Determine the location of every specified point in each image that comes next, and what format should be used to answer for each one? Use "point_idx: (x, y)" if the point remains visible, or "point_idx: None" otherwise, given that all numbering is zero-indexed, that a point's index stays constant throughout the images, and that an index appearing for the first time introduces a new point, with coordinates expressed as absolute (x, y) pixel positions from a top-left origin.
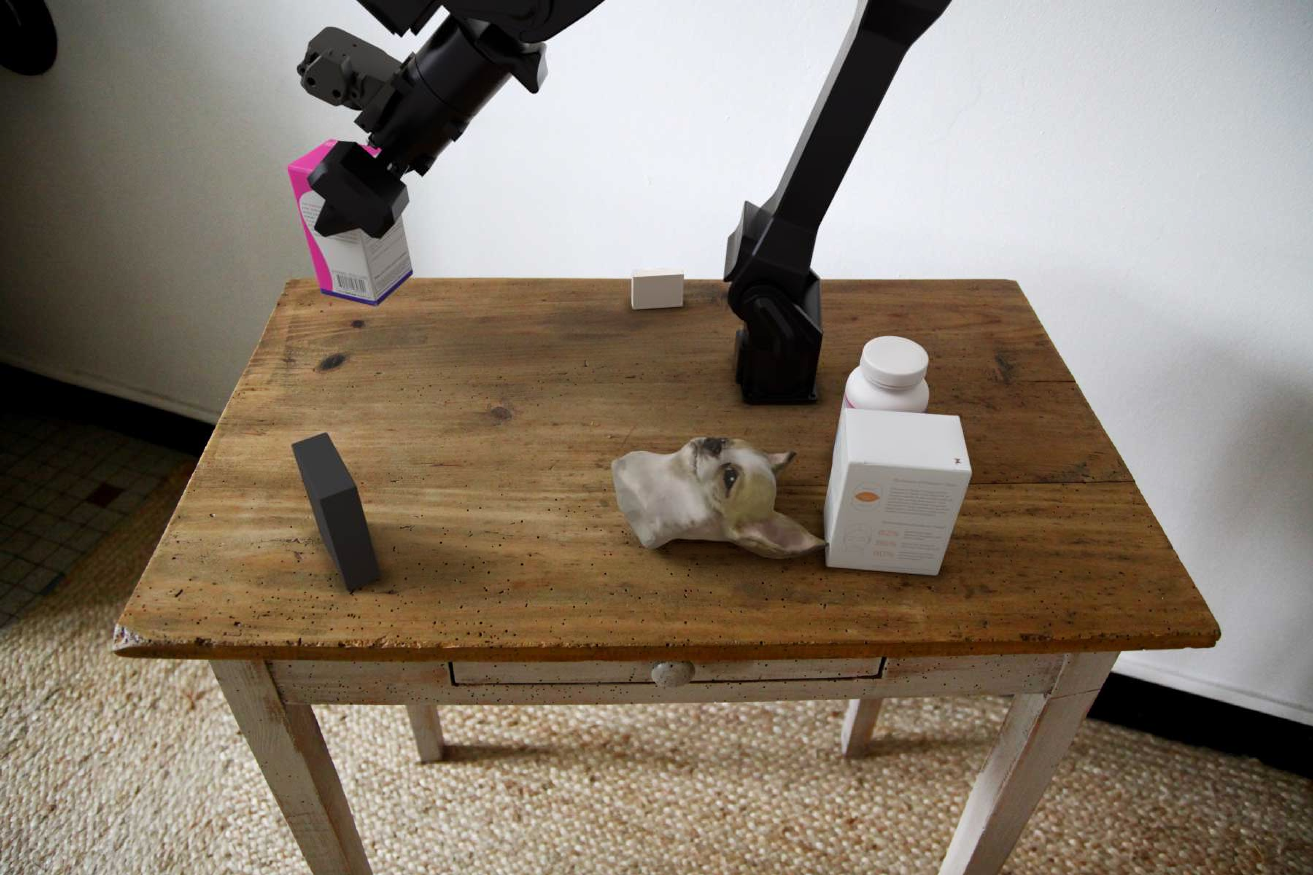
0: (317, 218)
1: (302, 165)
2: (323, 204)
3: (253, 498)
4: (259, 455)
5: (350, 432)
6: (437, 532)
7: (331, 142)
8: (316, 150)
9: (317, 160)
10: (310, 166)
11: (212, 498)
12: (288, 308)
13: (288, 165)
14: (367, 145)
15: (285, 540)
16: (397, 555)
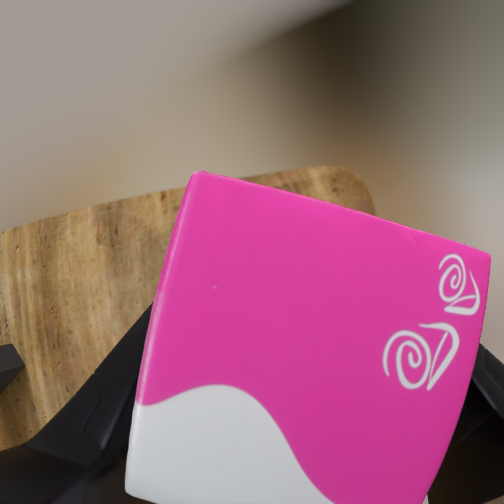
0: (138, 319)
1: (202, 248)
2: (95, 371)
3: (32, 272)
4: (73, 253)
5: (112, 332)
6: (36, 428)
7: (467, 277)
8: (388, 242)
9: (270, 305)
10: (191, 299)
11: (30, 238)
12: (322, 168)
13: (194, 177)
14: (481, 395)
15: (5, 317)
16: (14, 402)
